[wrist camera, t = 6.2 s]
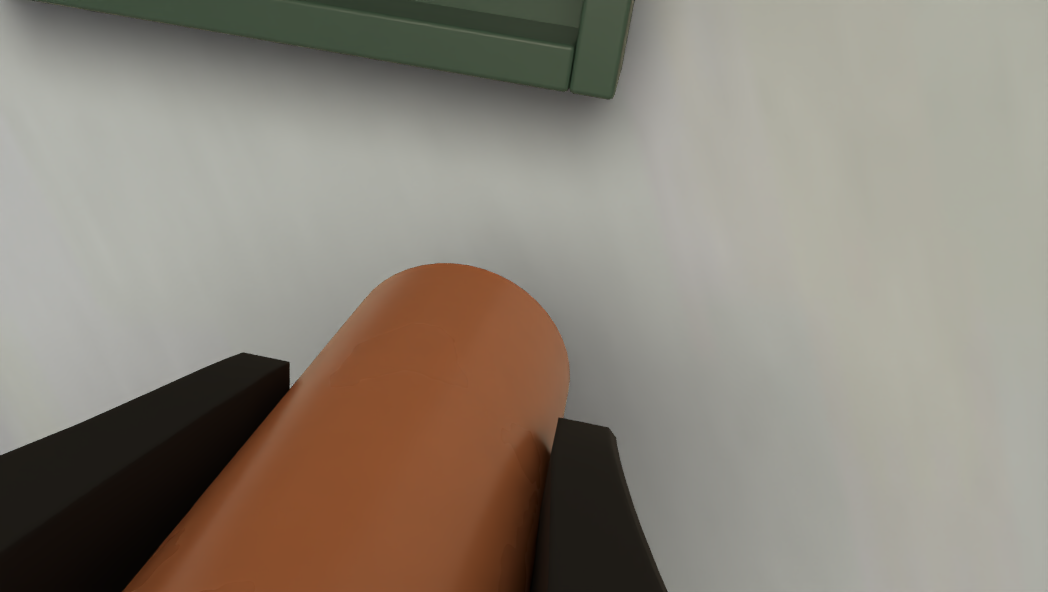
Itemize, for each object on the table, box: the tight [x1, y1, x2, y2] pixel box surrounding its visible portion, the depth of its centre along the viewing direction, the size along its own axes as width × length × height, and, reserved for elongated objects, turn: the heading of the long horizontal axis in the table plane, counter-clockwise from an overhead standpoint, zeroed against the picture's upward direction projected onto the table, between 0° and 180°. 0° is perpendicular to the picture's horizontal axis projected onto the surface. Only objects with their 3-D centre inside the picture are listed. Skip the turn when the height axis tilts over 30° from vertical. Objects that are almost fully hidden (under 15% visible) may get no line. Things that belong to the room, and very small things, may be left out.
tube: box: [122, 263, 570, 592], centre depth 8 cm, size 3×3×7 cm
